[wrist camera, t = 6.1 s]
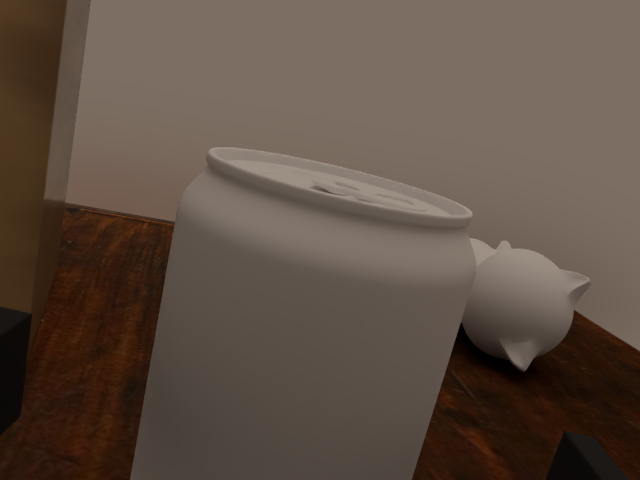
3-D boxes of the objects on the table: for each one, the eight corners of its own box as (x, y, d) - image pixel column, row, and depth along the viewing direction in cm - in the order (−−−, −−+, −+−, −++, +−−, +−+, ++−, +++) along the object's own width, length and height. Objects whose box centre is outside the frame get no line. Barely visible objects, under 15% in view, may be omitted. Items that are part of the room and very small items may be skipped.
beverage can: (196, 435, 22) (255, 143, 19) (389, 508, 20) (483, 201, 18) (53, 596, 14) (119, 141, 11) (350, 734, 12) (508, 246, 10)
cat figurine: (447, 197, 43) (579, 238, 33) (503, 271, 48) (630, 326, 38) (378, 282, 42) (492, 351, 32) (444, 347, 47) (558, 423, 37)
